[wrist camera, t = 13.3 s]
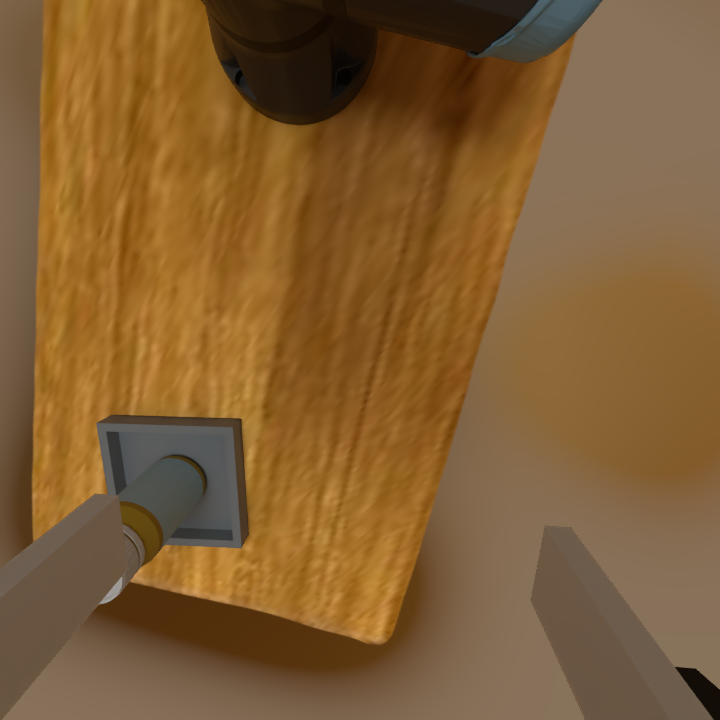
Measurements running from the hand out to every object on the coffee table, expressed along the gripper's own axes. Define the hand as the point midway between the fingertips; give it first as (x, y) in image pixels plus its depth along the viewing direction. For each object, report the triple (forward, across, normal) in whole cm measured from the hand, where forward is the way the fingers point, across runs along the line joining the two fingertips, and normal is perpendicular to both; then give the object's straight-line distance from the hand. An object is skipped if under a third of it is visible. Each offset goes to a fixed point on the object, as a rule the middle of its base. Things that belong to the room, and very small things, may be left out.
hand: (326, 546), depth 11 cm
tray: (+31, -22, -18) cm, 42 cm away
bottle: (+30, -22, -18) cm, 41 cm away
